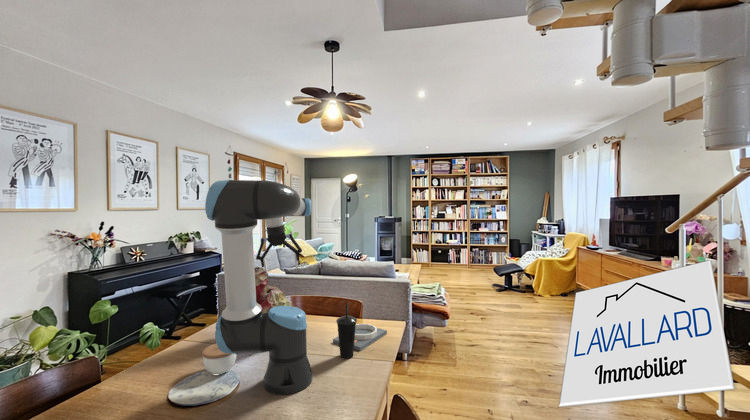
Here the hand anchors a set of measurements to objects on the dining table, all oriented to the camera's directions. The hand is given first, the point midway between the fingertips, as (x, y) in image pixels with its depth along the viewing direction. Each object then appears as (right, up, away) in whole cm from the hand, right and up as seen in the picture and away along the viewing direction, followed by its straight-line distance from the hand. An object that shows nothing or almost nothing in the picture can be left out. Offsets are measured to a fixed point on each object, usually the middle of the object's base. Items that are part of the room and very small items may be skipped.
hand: (282, 270), depth 148 cm
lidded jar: (-10, -28, -38) cm, 48 cm away
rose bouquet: (-6, -27, -9) cm, 30 cm away
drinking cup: (+32, -27, -27) cm, 50 cm away
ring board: (+37, -27, -11) cm, 47 cm away
